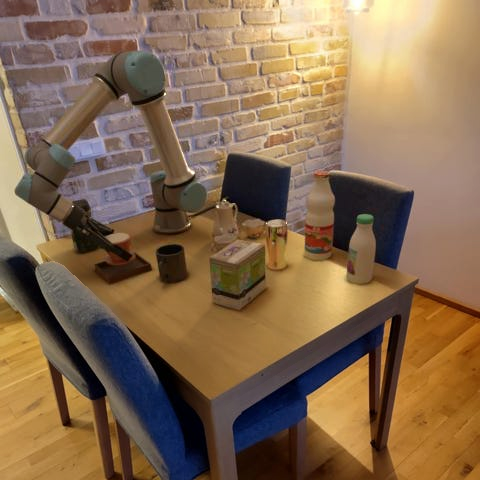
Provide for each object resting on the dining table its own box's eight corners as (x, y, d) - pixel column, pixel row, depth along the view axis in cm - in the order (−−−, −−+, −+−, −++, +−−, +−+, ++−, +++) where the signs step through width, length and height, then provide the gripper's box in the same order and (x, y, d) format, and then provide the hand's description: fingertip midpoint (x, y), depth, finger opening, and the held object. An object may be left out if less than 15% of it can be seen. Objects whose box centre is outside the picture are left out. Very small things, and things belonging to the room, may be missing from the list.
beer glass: (290, 263, 147) (290, 220, 139) (283, 271, 142) (283, 228, 133) (271, 260, 149) (270, 218, 141) (263, 268, 144) (262, 225, 136)
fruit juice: (335, 251, 152) (340, 169, 137) (327, 262, 145) (332, 177, 130) (309, 247, 156) (312, 167, 141) (300, 258, 149) (302, 175, 134)
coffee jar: (97, 242, 173) (85, 195, 162) (102, 248, 167) (91, 200, 157) (72, 248, 169) (59, 201, 159) (77, 255, 163) (63, 206, 153)
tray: (135, 257, 158) (134, 251, 156) (152, 269, 148) (150, 263, 147) (95, 270, 151) (93, 264, 149) (109, 284, 141) (108, 277, 140)
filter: (129, 254, 154) (124, 229, 149) (141, 263, 147) (136, 238, 142) (102, 262, 149) (95, 237, 144) (113, 272, 142) (107, 246, 137)
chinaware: (230, 264, 152) (231, 219, 142) (192, 251, 159) (190, 207, 149) (269, 235, 172) (272, 194, 162) (233, 225, 179) (234, 185, 169)
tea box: (241, 311, 123) (237, 263, 115) (212, 303, 127) (207, 257, 119) (267, 288, 133) (265, 243, 125) (239, 281, 138) (236, 237, 130)
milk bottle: (372, 274, 137) (380, 212, 126) (370, 285, 131) (378, 222, 120) (347, 271, 139) (353, 211, 128) (344, 283, 133) (349, 220, 122)
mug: (168, 269, 148) (163, 243, 143) (191, 271, 146) (188, 245, 140) (149, 286, 139) (144, 259, 133) (175, 289, 136) (170, 261, 131)
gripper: (63, 211, 145) (120, 248, 157) (58, 235, 127) (124, 274, 139) (75, 194, 143) (133, 232, 155) (72, 215, 125) (138, 256, 137)
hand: (128, 252), depth 147 cm, fingers closed on filter, 10 cm apart
